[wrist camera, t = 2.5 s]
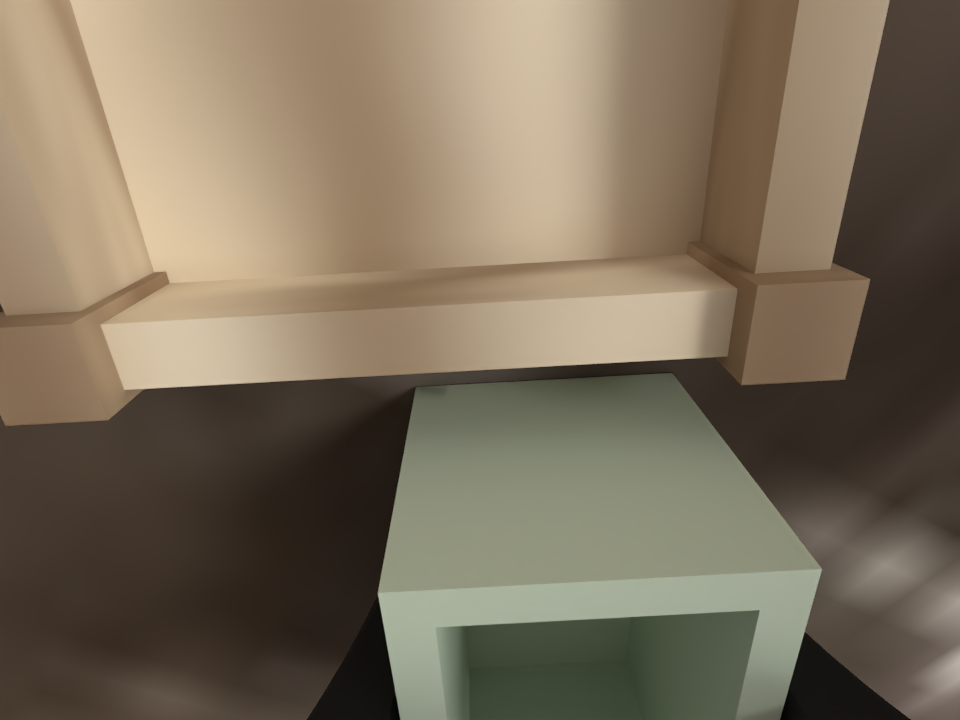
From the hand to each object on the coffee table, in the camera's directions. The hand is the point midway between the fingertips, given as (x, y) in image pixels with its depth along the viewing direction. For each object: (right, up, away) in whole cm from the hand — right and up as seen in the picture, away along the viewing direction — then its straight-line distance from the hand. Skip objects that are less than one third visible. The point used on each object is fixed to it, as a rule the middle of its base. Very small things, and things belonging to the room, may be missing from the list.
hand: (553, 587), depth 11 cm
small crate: (0, +1, +1) cm, 1 cm away
